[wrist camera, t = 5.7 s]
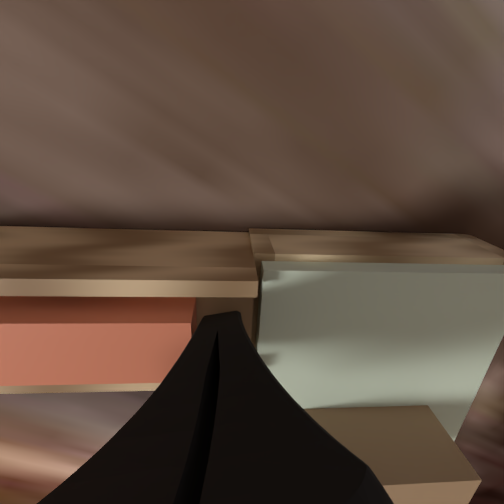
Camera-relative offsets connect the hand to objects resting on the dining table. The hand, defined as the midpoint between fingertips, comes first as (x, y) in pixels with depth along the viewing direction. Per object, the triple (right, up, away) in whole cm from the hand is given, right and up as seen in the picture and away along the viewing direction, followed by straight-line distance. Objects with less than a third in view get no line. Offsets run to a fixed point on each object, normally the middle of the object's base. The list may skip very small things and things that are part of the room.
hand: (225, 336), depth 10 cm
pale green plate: (+6, -5, +4) cm, 9 cm away
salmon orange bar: (-6, 0, 0) cm, 6 cm away
